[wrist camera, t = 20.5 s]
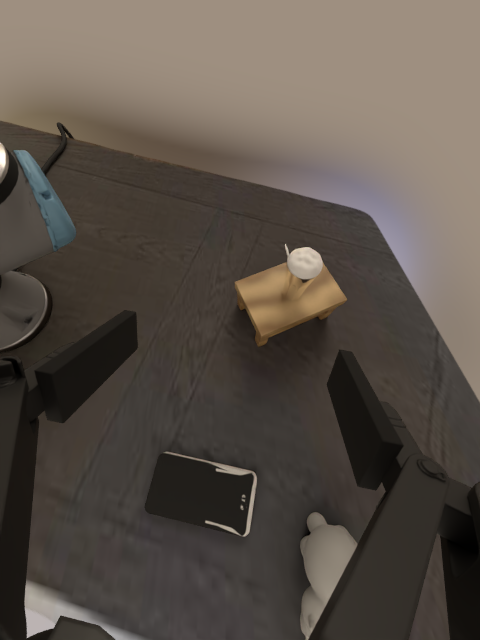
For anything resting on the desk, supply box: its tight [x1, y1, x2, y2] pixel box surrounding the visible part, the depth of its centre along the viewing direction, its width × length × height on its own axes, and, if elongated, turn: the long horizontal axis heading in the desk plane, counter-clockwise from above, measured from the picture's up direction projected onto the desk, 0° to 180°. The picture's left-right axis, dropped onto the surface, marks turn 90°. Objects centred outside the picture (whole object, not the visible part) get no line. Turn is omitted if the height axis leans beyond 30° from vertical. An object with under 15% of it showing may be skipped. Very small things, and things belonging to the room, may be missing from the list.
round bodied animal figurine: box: [300, 512, 358, 640], centre depth 29 cm, size 7×12×8 cm, turn 151°
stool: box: [235, 262, 347, 347], centre depth 43 cm, size 10×15×8 cm, turn 114°
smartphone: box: [145, 452, 257, 536], centre depth 36 cm, size 8×1×15 cm
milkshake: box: [282, 244, 323, 301], centre depth 34 cm, size 4×5×10 cm
